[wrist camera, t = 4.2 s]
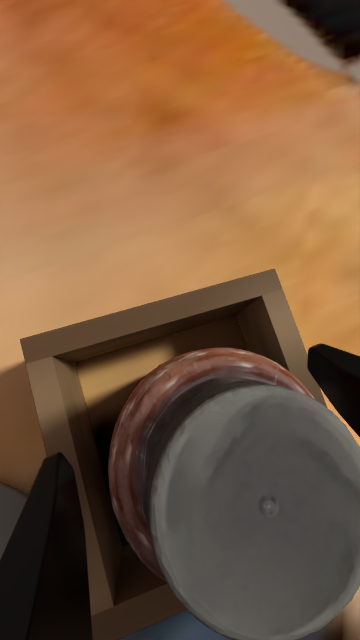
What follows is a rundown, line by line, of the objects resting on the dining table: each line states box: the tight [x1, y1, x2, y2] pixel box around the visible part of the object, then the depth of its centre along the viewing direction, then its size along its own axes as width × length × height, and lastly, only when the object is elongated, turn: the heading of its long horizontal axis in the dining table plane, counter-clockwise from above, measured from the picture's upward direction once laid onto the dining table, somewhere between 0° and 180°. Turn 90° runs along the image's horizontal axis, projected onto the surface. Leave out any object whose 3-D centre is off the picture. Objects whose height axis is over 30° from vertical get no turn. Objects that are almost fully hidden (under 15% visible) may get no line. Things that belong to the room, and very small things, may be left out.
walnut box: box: [20, 269, 327, 640], centre depth 14 cm, size 11×11×4 cm
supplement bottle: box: [108, 348, 360, 640], centre depth 11 cm, size 6×6×11 cm
